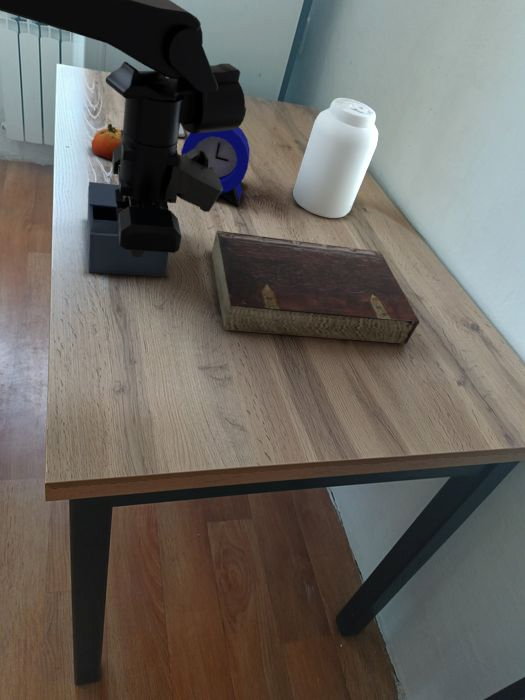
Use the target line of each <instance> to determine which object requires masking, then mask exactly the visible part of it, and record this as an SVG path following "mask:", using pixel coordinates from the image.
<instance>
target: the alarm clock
mask: <svg viewBox="0 0 525 700" xmlns="http://www.w3.org/2000/svg"><path fill="white" fill-rule="evenodd" d="M196 147H198V148H200V149H202V150H204V151H206V152H207V155H208V158H209V165H208V168H210V167H212V168H213V169H214V172H216V173H217V175H218V176H219V179H220V182H221V185H222V188H223V191H222V192H221V194H220V196H223V198H225V199H227V200H228V201H230V202H231V203H233V205H235V206H236V207H239V206H240V200H241V197H242V191H243V180H244V179H245V176H246V174H247V172H248V169H249V161H250V150H251V149H250V145H249V140H248V138H247V136H246V134H245V132H244V130H243V129H242V128H240V126H239V127H238V128H237V129H234V130H226V131H216V132H206V133H195V134H191V133H189V132H188V135H187V136H186V139H185V140H184V141H183V145H182V148H181V151H180V155H182V156H183V154H184V153H185V154H186V153H188V152H189V151H191V150H192V149H194V148H196Z"/></svg>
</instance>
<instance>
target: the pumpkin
mask: <svg viewBox="0 0 525 700" xmlns="http://www.w3.org/2000/svg"><path fill="white" fill-rule="evenodd" d="M121 130H122V129H119V128H116V127H115V126H113V124H112V123H109V124H107V128H103V129H100V130H98V131H97V132H96V133H95V135H94V136H93V139H92V141H91V149H92V154H93V155H98V156H99V157H103V158H105V159H108V160H111V161H112V160H113V150H114V149H115V148H117V147H118V146H119V145H121V140H120V138H121Z"/></svg>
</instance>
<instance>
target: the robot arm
mask: <svg viewBox="0 0 525 700" xmlns="http://www.w3.org/2000/svg"><path fill="white" fill-rule="evenodd" d="M0 12H3V13H6V14H8V15H9V14H10V15H13V16H15V17H18V18H19V17H20V18H23V19H26V20H29V21H33V22H36V23H39V24H42V25H46V26H49V27H52V28H55V29H59V30H62V31H65V32H68V33H71V34H76V35H79V36H82V37H86V38H88V39H92V40H95V41H98V42H102V43H104V44H107V45H109V46H111V47H113V48H114V49H116V50H118V51H120V52H121V53H123V54H125V55H126V56H128V57H130V58H132V59H133V60H135V61H137V62H138V63H140V64H142V65H144V66H145V67H147V68H149V69H151V70H138V69H137V68H136V67H134V66H133V65H132V64H130V63H129V62H128V61H123V62H122V64H121V65H120V67H118V68H117V69H115V70H114V71H112V72H110V74H108V75H107V76H106V77H105V84H107V86H109V87H110V88H112V89H113V90H114V91H115V92H117V93H118V95H120V96H121V97H123V99H124V109H123V110H124V111H123V122H122V123H123V124H122V125H123V126H122V129H120V130H121V138H120V140H121V145H119V146H118V147H117V148H115V149H114V150H113V160H111V162H112V163H111V166H112V174H113V175H116V176H117V178H118V185H119V189H116V190H115V199H116V204H117V207H118V208H116V210H117V220H118V223H119V225H118V233H119V244H120V246H121V247H122V248H124V249H126V250H131V253H132V255H133V257H137V258H141V257H142V256H143V254H144V252H145V251H154V252H168V253H169V254H170V253H172V254H175V253H177V252H179V251H180V247H181V241H182V232H181V228H180V222H179V219H178V217H177V216H176V215H175V214H174V212H172V210H171V209H169V204H176V203H177V199H178V198H179V199H181V200H182V201H185V202H187V203H189V204H191V205H193V206H195V207H198V208H199V209H200V210H201V211H203V212H206V213H209V212H210V211H211V209H212V208H213V206H214V205H215V203H216V201H217V200H218V198H219V197H220V196H221V192H222V191H223V188H222V185H221V182H220V179H219V176H218V175H217V173H216V172H214V169H213V168H212V167H210V168H208V165H209V158H208V155H207V152H206V151H204V150H202V149H200V148H198V147H196V148H194V149H192V150H191V151H189V152H188V153H186V154H185V153H184V154H183V156H182V155H181V153H178V142H179V136H178V135H179V128H180V123H181V125H182V127H183V128H184V131H185V132H187V133H188V134H189V133H191V134H195V133H206V132H216V131H226V130H234V129H237V128H238V127H239V128H240V126H241V125H242V124H243V122H244V120H245V118H246V117H245V116H246V112H247V108H246V100H245V94H244V90H243V87H242V86H241V83H240V82H239V81H240V76H241V71H240V69H238V68H236V67H235V66H233V65H232V64H231V63H218V64H215V65H210V62H209V59H208V56H207V53H206V52H205V49H204V46H203V43H204V42H203V41H204V40H203V30H202V27H201V26H202V23H201V21H200V20H199V18H198V17H197V16H195V15H194V14H193V13H190V12H189V11H188V10H186V9H185V8H183V7H181V6H179V5H178V4H176V2H174V1H172V0H0ZM168 203H169V204H168Z"/></svg>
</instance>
